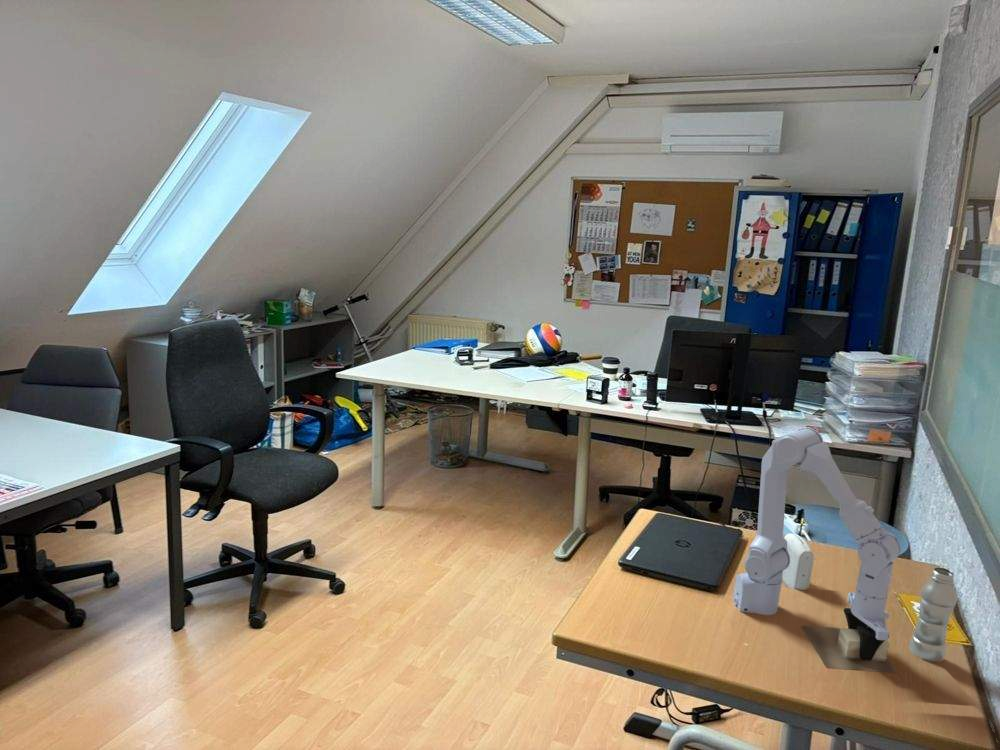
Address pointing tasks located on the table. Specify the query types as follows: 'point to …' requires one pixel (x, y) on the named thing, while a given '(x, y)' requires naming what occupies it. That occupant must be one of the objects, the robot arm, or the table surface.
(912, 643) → the plastic bottle
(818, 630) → the grey flat square block
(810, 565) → the photo printer
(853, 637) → the block
